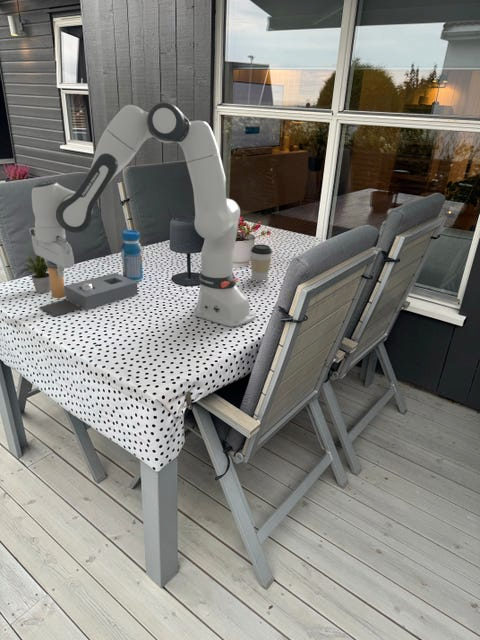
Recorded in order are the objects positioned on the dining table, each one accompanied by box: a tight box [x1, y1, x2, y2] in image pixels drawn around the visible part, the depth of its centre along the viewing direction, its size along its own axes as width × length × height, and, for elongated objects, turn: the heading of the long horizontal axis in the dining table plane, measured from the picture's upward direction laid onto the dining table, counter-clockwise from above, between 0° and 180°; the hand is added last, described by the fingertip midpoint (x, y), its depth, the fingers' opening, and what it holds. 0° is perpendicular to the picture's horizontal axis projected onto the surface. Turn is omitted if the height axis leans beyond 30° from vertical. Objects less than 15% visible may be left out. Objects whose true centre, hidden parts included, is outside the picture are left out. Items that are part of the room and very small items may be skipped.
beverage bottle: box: [120, 229, 144, 283], centre depth 184 cm, size 8×8×20 cm
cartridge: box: [47, 261, 66, 299], centre depth 153 cm, size 5×5×12 cm
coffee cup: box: [250, 244, 273, 282], centre depth 193 cm, size 9×9×15 cm
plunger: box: [82, 283, 92, 291], centre depth 164 cm, size 4×4×6 cm
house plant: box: [22, 253, 51, 294], centre depth 167 cm, size 14×14×16 cm
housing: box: [64, 272, 139, 311], centre depth 168 cm, size 22×14×5 cm, turn 139°
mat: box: [39, 299, 82, 318], centre depth 157 cm, size 10×10×1 cm
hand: (55, 273), depth 152 cm, fingers closed on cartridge, 4 cm apart
